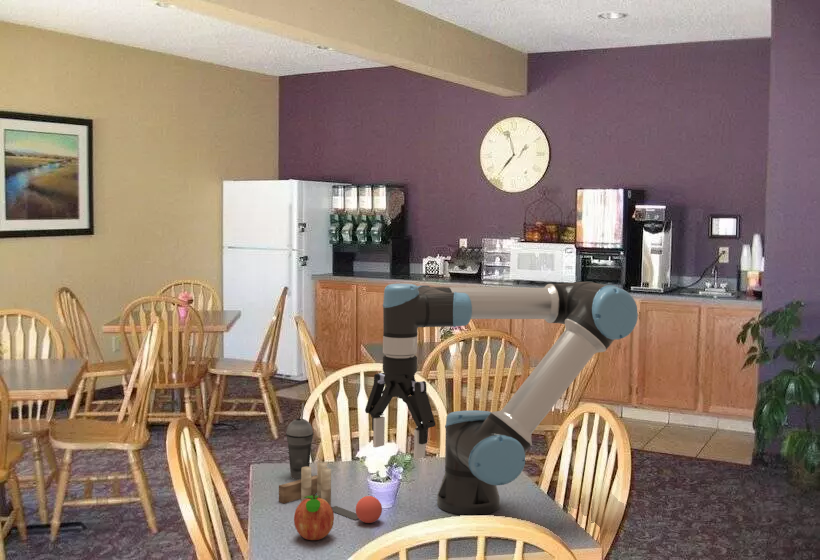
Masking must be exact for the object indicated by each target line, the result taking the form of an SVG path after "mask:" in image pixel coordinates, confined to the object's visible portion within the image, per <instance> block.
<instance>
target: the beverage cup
mask: <svg viewBox="0 0 820 560" xmlns="http://www.w3.org/2000/svg"><path fill="white" fill-rule="evenodd" d="M304 409H305V402H302V404H301V412H300V413H301V414H300V418H296V419H293V420H292V421H291V422H290V423H289V424H288V426H287V427H286V433H285V436H286V441H287V444H288V445H287V447H288V458H289V459H288V460H289V470H290V478H291V477H292V478H291V479H293V478H294V479H293V480H300V479H301V468H302V467H306V466H307V467H310V462H311V451H312V442H313V437H314V432H313V431H314V430H313V427H312V425H311V423H310V422H309V421H308V420H306V419H305V418H303V417H304V412H305V411H304Z"/></svg>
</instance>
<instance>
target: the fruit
mask: <svg viewBox="0 0 820 560" xmlns="http://www.w3.org/2000/svg"><path fill="white" fill-rule="evenodd" d="M304 498H307V499H305V500H303V501H302V502H301V501H300V503H299V504H298V505H297V507H296V508H295V511H294V517H293V521H294V527H295V529H296V532H297V533H298V534H299V536H300V537H302V538H303V539H305V540H310V541H319V540H322V539H324V538H325V537H327V536H328V535H329V533H330V532H331V530H332V529H333V526H334V521H335V516H334V515H335V513H334V512H333V510H332V508H331V507H332V505H331V506H330V505H329V503H328V502H327V501H325V500H324V499H322V498H318V496H317V495H316V494H315V493H313V495H311V496H306V497H304Z"/></svg>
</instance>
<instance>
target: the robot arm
mask: <svg viewBox="0 0 820 560" xmlns="http://www.w3.org/2000/svg"><path fill="white" fill-rule="evenodd" d="M382 311H383V315H382V317H383V318H382V319H383V320H382V321H383V322H382V323H383V333H382V334H383V335H382V354H384V355H383V356H382V372H380V373H375V374H374V376H373V383H372V384H373V385H372V388H371V391H370V393H369V397H368V399H367V403H366V406H365V410H364V411H365V413H366V414H369V415H370V417H371V430H372V432H373V434H372V435H373V439H372V440H373V441H372V444H373V448H379V447H383V446H385V423H386V420H385V416H384V415H385V414H384V412H385V410H386V409H387V408H388V406H389V404H390V402H392V399H393V398H398V399H402V401H403V402H404V403H405V404H406V407H407V408H408V410H409V413H410V415H411V417H412V419H413V421H414V423H415V426H416V428H415V429H413V430H414V431H413V433H414V435H413V436H414V437H413V438H414V439H413V443H414V444H413V459H414V460H419V459H424V458H426V444H428V433H429V432H428V431H429V428H433V427H434V428H435V426H436V421H435V417H434V413H433V410H432V407H431V403H430V399H429V396H428V392H427V382H426V380H423V381H416V379H415V375H416V373H417V372H418V357H417V356H416V354H417V353H418V336H419V335H418V334H419V333H418V332H419V331H418V330H419V328H445V327H446V328H447V327H450V328H451V327H452V328H456V327H465V326H467V325H468V324H469V323H470V322H471V320H544V321H545V322H546V323H548V324H562V325H564V326H565V327H564V331H563V333H561V335H560V336H559V337H558V338H557V340H556V341H555V342H554V344H553V345H552V347H550V349H549V350H548V351H547V352H546V353H545V355H544V356H543V358H542V359H541V360H540V362H539V363H538V364H537V365H536V366H535V367H534V369H533V370H532V371H531V373H530V374H529V375H528V376H527V377H526V378H525V380H524V381H523V383H522V384H521V385H520V387H518V389H517V390H516V391H515V393H514V394H513V395H512V397H510V399H509V400H508V402H507V403H506V404H505V406H504V407H503V408H502V409H501V410H497V411H490V410H489V411H488V410H472V409H471V410H469V409H468V410H457V411H452V412H449V413H448V414H447V416H446V418H445V420H446V421H445V425H444V428H445V449H444V450H445V452H444V455H445V456H444V475H443V478H442V480H441V484H440V487H439V489H438V492H437V499H436V501H437V503H436V504H437V506H438V507H439V509H440V510H442V511H445V512H447V513H450V514H455V515H460V516H465V515H464V514H483V515H488V514H491V513H494V512H495V511H497V510H499V508H500V506H501V504H500V503H501V502H500V501H501V496H500V494H499V490H498V487H497V486H503V485H507V484H509V483H511V482H512V483H513V481H515V480H516V479H517V478H518V477H519V476H520V475H521V473H522V472H523V470H524V468H525V465H526V453H527V452H528V450H529V449H530V448H531V446H532V445H533V442H532V441H533V440H532V434H533V432H534V431H535V430H536V429H537V428H538V426H539V425H540V424H541V423H542V422H543V420H544V419H545V418H546V416H548V414H549V412H550V411H551V410H552V409H553V407H554V406H555V405H556V403H558V401H559V400H560V398H561V397H562V396H563V395H564V393H565V392H566V391H567V390H568V388H570V386H571V384H573V382H574V381H575V379H576V378H577V377H578V376H579V375H580V373H581V371H582V370H584V368H585V367H586V365H587V364H588V363H589V362H590V360H591V359H592V358H593V357H594V355H595V354H598V353H604V352H606V351H607V350H608V348H609V347H610V346H611V345H612V344H613V342H614V341H615V340H621V339H624V338H627V336H629V335H631V333H632V332H633V331H634V329H635V327H636V325H637V323H638V317H639V313H638V305H637V302H636V301H635V299H634V297H633V296H632V295H631V294H630V293H629V291H626V290H625V289H623V288H620V287H618V286H616V285H613V284H611V285H610V284H608V285H607V284H602V283H598V282H594V281H576V282H567V283H566V282H565V283H548V284H545V286H544V287H491V286H490V287H481V286H480V287H476V286H475V287H473V286H471V287H469V286H467V287H466V286H464V287H463V286H462V287H461V286H460V287H459V286H458V287H457V286H449V287H445V286H443V287H442V286H430V285H417V284H414V283H390V284H389V283H388V285H386V286H385V288H384V289H383V302H382Z"/></svg>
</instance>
